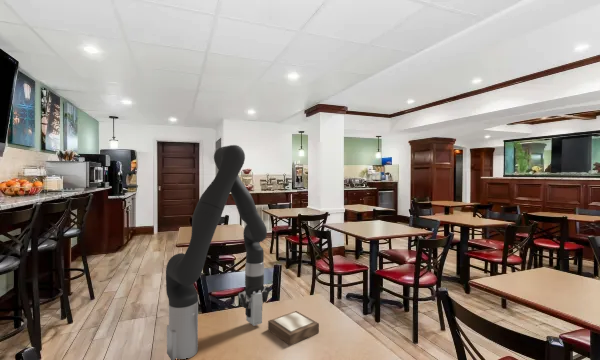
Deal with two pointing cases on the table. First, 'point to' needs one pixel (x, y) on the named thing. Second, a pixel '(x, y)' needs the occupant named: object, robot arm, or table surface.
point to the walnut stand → (293, 327)
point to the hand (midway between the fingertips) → (254, 314)
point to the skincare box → (255, 309)
